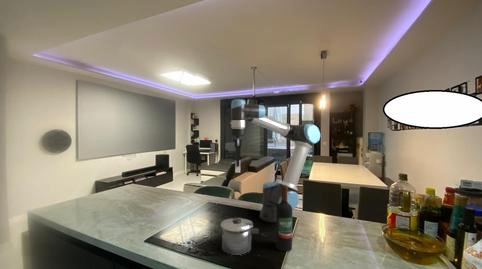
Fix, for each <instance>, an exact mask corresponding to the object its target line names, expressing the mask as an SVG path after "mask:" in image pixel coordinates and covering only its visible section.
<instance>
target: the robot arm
mask: <svg viewBox="0 0 482 269" xmlns="http://www.w3.org/2000/svg"><path fill="white" fill-rule="evenodd" d="M230 115H231V116H230V117H231V118H230V119H231V120H230V122H229V124H230V125H231V126H230V127H231V129H230V136H231V137H235V138H234V141H233V142H234V148H235V157H234V159H233V160H234V162H235V163H234V164H235V165H234V167H235V168H234V170H235V173H241V161H242V157H241V148H242V143H243V139H241V137H244V136H246V130H245V128H246V122H249V123H252V124H254V125H257V126H259V127H261V128H263V129H264V128H265V129H267V130H268V131H271V132H274V133H276V134H279V135H280V137H282V138H284V139H287V140H289V141H291V142H293V143H294V145H295V146H294V148H293V151H292V155H291V157H290V159H289V163H288V166H287V169H286V172H285V174H284V177H283V180H282V181H280V182H278V181H274V182H273V181H272V182H271V181H270V182H264V183H263V185H262V207H261V210H260V212H259V218H260V220H262V221H264V222H267V223H276V211H277V205H278V204H279V203H281V201H282V185H287V186H288V191H287V201H288V203H289V204H290V205H291V207H292V211H293V210H294V209H296V208H297V207H298V205H299V202H300V197H299V195H298V192H299V189H298V187H297V186H298V183H299V180H300V177H301V174H302V172H303V168H304V167H305V163H306V159H307V156H308V154H309V152H310V150H311V149H313V147H314V144H317V143H319V141H320V138H321V132H320V129H319V127H317V126H316V125H315V124H311V123H307V124H290V123H285V122H281V121H279V120H276V119H274V118H273V117H270V116H267V115H266V107H265V106H264V105H263V104H261V105H260V104H247V103H246V100H245V99H241V98H237V99H233V100H231V106H230Z"/></svg>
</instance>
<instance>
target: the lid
mask: <svg viewBox="0 0 482 269" xmlns="http://www.w3.org/2000/svg"><path fill="white" fill-rule="evenodd" d="M220 228H222V229H224V230H227V231H233V232H241V231H247V230H250V229H251V228H254V222H253V221H252V220H249V219H247V218H242V217H232V218H227V219H226V218H225V219H224V220H222V221H221V222H220Z"/></svg>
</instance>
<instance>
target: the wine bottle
mask: <svg viewBox="0 0 482 269" xmlns="http://www.w3.org/2000/svg"><path fill="white" fill-rule="evenodd" d="M287 191H288V186H287V185H282V201H281V203H279V204H278V205H277V211H276V222H275V224H276V227H275V229H276V230H275V232H276V233H275V248H276V249H277V250H278V251H281V252H283V251H285V252H291V251H292V250H293V210H292V207H291V205H290V204H289V203H288V201H287ZM285 252H284V253H285Z"/></svg>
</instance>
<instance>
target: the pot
mask: <svg viewBox="0 0 482 269" xmlns="http://www.w3.org/2000/svg"><path fill="white" fill-rule="evenodd" d="M214 228H215V229H214V234H221V237H222V238H221V239H222V240H221V249H222V251H223V253H225V252H226V253H228V254H227V255H229V254H231V255H230V256H233V255H240V256H243V255H242V254H244V255H246V254H245V253H247V252H248V253H250V252H251V250H252V234H257V235H258V234H260V230H259V228H258V227H256V228H255V227H252V228H251V229H250V230H247V231H241V232H233V231H227V230H224V229H222V228H221V227H217V228H216V227H214ZM226 253H225V254H226ZM248 253H247V254H248Z"/></svg>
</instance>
